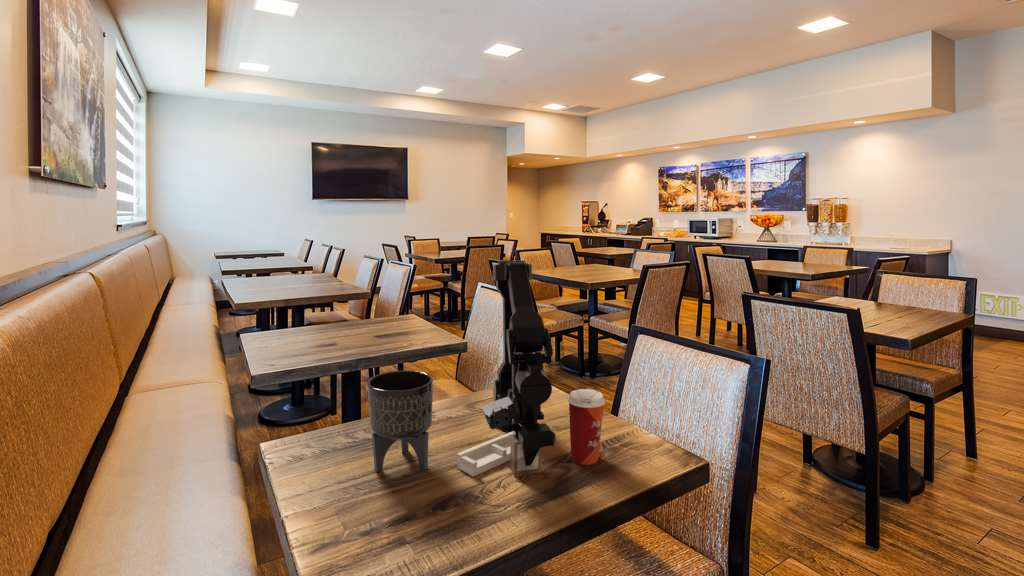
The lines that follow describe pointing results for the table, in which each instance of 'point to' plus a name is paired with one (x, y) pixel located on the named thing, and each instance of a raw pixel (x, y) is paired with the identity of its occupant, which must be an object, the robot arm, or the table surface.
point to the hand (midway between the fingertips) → (525, 461)
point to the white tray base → (485, 455)
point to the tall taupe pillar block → (522, 460)
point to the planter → (400, 413)
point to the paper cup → (585, 425)
